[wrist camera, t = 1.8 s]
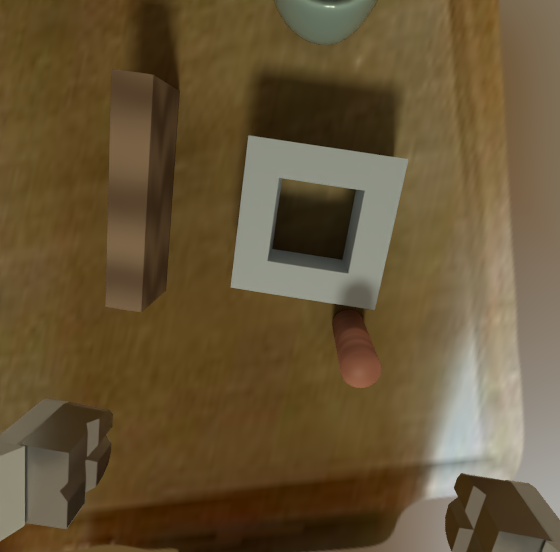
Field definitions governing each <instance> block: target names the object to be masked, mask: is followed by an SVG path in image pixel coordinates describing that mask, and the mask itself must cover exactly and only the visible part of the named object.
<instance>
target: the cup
mask: <svg viewBox="0 0 560 552" xmlns="http://www.w3.org/2000/svg"><path fill="white" fill-rule="evenodd" d="M377 1H378V0H274V3H275V5H276V8H277V10H278V12H279V14H280V16H281V17H282V19H283V20H284V22H285V24H286V25H287V26H288V27H289V28H290V29H291V30H292V31H293V32H294V33H295V34H297V35H298V36H299V37H301V38H302V39H304V40H306V41H308V42H310V43H314V44H318V45H332V44H337V43H339V42H341V41H343V40H345V39H347V38H348V37H350V36H351V35H352V34H353V33H355V32H356V31H357V30H358V29H359V27H360V26H361V25H362V24H363V23H364V22H365V20H366V19H367V18H368V16H369V15H370V13H371V11H372V10H373V8H374V7H375V5H376V3H377Z"/></svg>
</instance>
